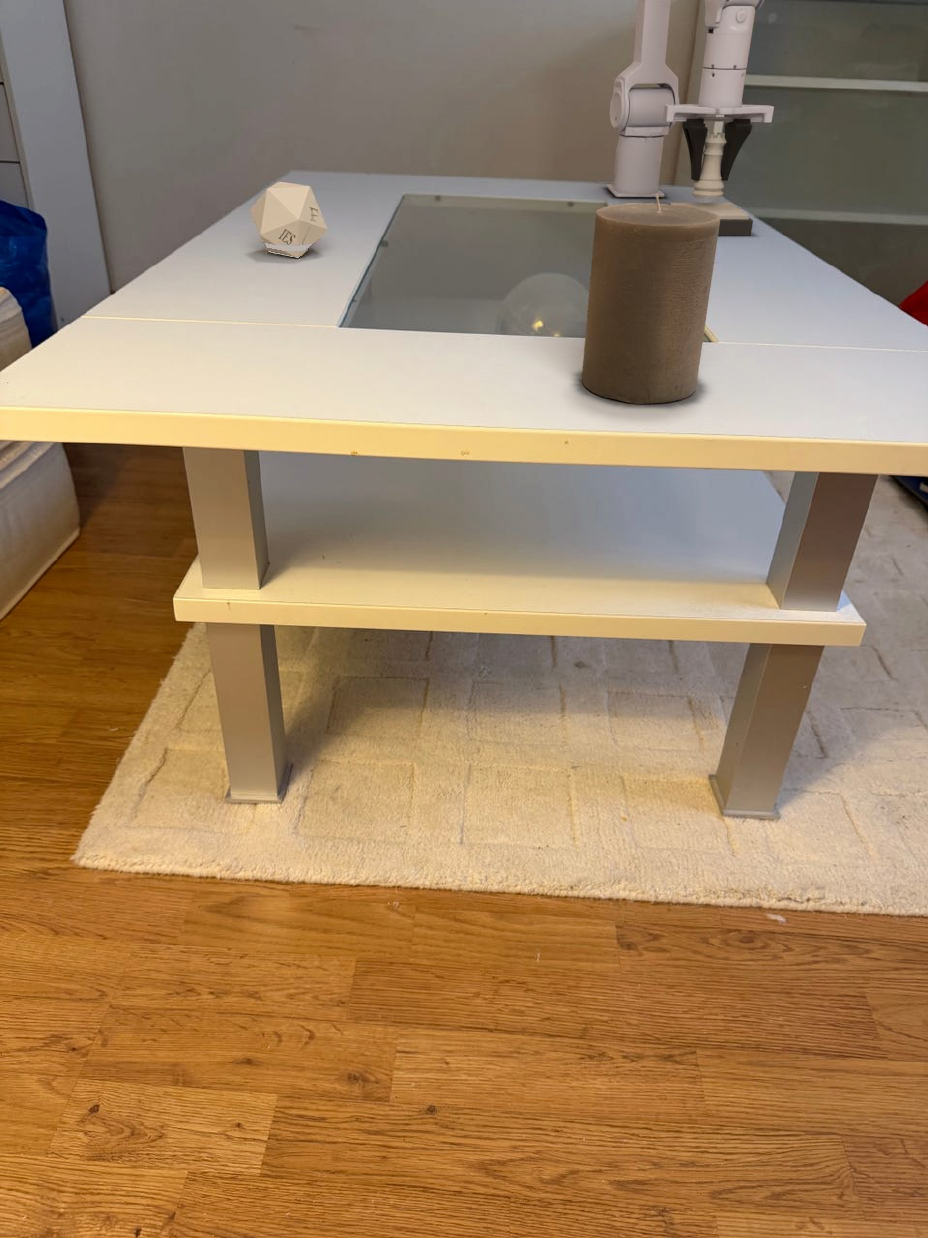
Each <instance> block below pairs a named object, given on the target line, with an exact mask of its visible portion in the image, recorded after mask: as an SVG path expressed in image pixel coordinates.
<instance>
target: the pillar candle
mask: <svg viewBox="0 0 928 1238" xmlns="http://www.w3.org/2000/svg"><path fill="white" fill-rule="evenodd" d="M659 198H660V197H658V195H656V197H655V201H656V203H651V202H648V203H647V202H646V203H645V202H628V203H620V204H613V205H612V204H611V205H607V206H603V207H601V208H598V209H597V210H596V212H595V219H594V221H595V222H594V230H593V231H594V232H593V241H592V242H593V243H592V256H591V266H590V275H589V289H588V300H587V310H586V323H585V335H584V347H583V359H582V360H583V361H582V369H581V370H582V371H581V377H582V382H583V385H584V387H585V388H586V389H587V390H588V391H590V392H591V393H593V394H596V395H598V396H600V397H603V398H606V399H607V398H609V399H611V400H617V401H620V402H624V403H630V404H634V405H645V404H646V405H647V404H664V403H671V402H676V401H679V400H684V399H686V398H689V397H690V396H692V395H693V394H694V393H695V391H696V389H697V385H698V377H699V370H700V363H701V356H702V350H703V343H704V336H705V328H706V320H707V315H708V307H709V301H710V294H711V287H712V280H713V273H714V266H715V259H716V253H717V244H718V239H719V236H718V232H719V225H720V216H719V215H718V214H717V213H714V212H713V211H709V210H702V209H698V208H694V207H688V206H680V205H670V204H666V203H660V199H659Z"/></svg>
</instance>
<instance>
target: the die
mask: <svg viewBox="0 0 928 1238" xmlns="http://www.w3.org/2000/svg"><path fill="white" fill-rule="evenodd" d="M249 214H250V215H251V218H252V220H253V223H254V225H255V228H256V230H257V232H258V234H259V237H260V239H261V240H263V241H262V243H263V242H264V243H268V244H273V245H286V246H287V245H289V246H300V245H301V244H302V245H307V244H312V243H314V244H316V243H317V242H318V241H319V240H320V238H322V237H323V235H324V234H326V233H327V231H328V230H329V228H328V226H327V223H326V221H325V219H324V216H323V214H322V212H321V209H320V207H319V204H318V202H317V200H316V197H315V195H314V193H313V190H312V188H311V186H310V185H305V184H299V183H292V182H285V181H277V182H276V183H274V184H272V185H271V186H269V187H267V188H266V189H265V191H263V193H262V194H261V196H260V197H259V198H258V199H257V201H255V203H254V204H253V205H252V207H251V208H250V209H249ZM264 243H263V244H264ZM265 249H266V252H267V251H271V252H275V253H280V254H284V255H289V256H293V257H300V256H301V257H302V256H303V255H304V254H305V253H307V252H308V251H309V250H308V249H307V250H302V251H282V250H277V249H272V248H267V247H265ZM301 257H300V258H301Z"/></svg>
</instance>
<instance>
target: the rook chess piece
mask: <svg viewBox="0 0 928 1238" xmlns="http://www.w3.org/2000/svg"><path fill="white" fill-rule="evenodd" d="M724 133H725V132H716V134H715V132H712V131H711V132H707V135H706V140H705V144H704V150H703V154H702V156H703V158H702V164H701V174H700V179H699V181H694V182H693V184H692V186H693V188H694V189H693V190H692V191H691V194H692V196H693V197H695V198H698V199H705V200H715V199H720V198H721V197H722V196H723V195H724V192H723V191H722V190H723V189H724V188H725V186H724V185H725V184H724V181H722V180H721V179H722V177H721V173H720V166H721V160H722V155H723V147H724V145H725V144H726V142H727V141H726V139H725V134H724Z"/></svg>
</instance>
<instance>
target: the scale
mask: <svg viewBox="0 0 928 1238" xmlns="http://www.w3.org/2000/svg"><path fill="white" fill-rule="evenodd" d="M669 205H680V206H688V207H694V208H698V209H702V210H709V211H713V212H714V213H717V214H718V215H719V216H720V225H719V232H718V237H721V236H723V237H727V236H728V237H732V236H733V237H734V236H735V237H740V236H741V237H745V236H746V237H749V236H752V230H753V223H754V220H753V219H752V218H751V217H750V214H748V213H747V212H745V211H744V210H743V209H741V208H740V207H738V206H737V205H735V203H732V202H670V203H669Z"/></svg>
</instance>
